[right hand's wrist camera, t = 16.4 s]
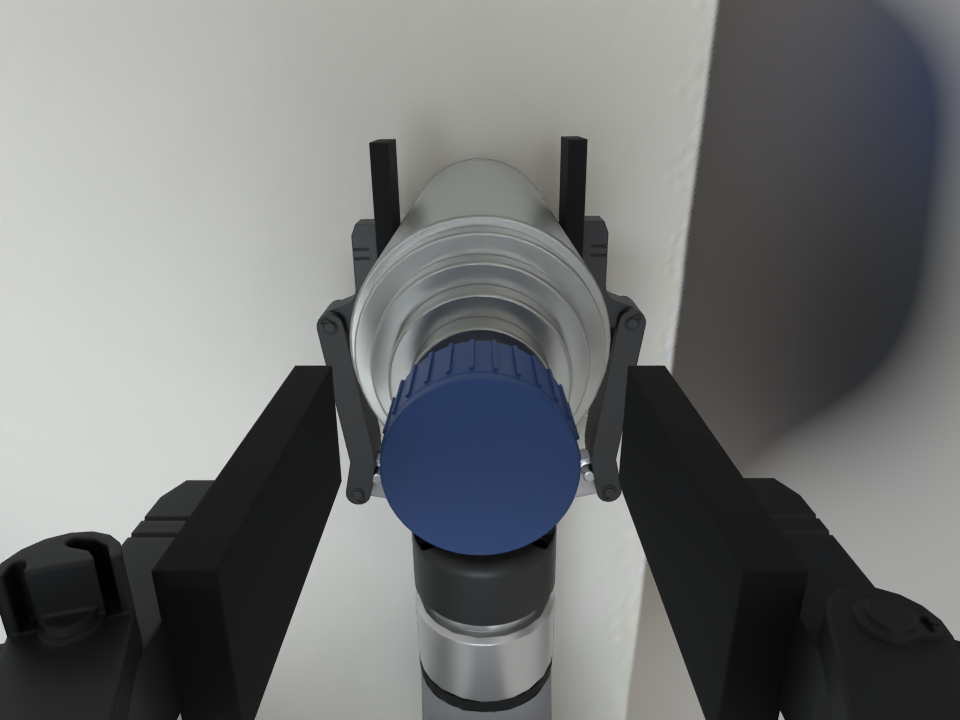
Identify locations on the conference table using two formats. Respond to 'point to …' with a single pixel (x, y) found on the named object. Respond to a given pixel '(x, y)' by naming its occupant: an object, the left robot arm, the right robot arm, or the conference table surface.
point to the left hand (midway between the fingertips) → (478, 140)
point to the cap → (480, 449)
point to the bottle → (480, 286)
